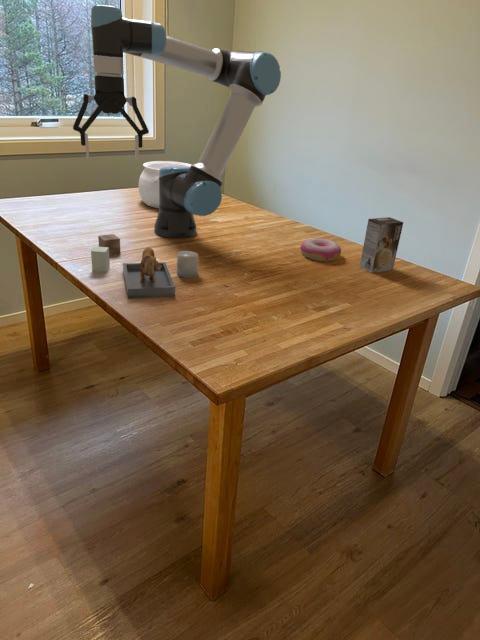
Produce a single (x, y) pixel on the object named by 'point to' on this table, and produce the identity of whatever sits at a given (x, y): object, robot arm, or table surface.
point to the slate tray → (147, 282)
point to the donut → (321, 249)
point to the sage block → (100, 259)
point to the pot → (153, 181)
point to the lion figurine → (148, 265)
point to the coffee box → (381, 244)
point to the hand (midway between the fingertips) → (112, 158)
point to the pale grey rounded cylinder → (187, 264)
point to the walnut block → (110, 243)
